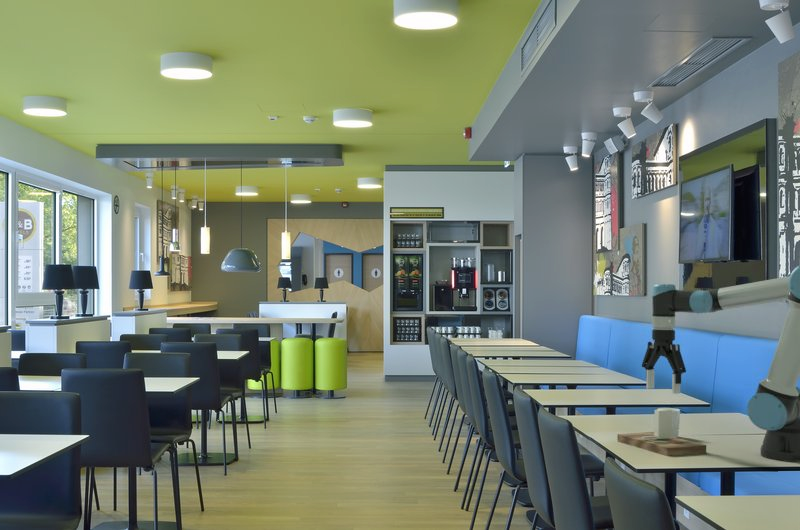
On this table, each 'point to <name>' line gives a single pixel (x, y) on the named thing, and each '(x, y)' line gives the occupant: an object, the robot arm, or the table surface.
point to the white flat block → (662, 424)
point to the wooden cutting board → (662, 444)
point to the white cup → (674, 421)
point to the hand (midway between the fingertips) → (662, 391)
